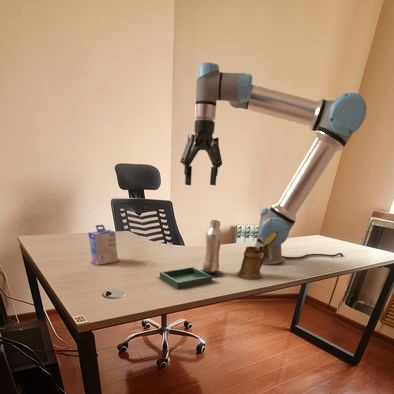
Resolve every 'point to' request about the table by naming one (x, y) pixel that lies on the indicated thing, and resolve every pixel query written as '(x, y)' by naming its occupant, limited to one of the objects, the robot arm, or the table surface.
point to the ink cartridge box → (103, 246)
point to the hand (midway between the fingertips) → (200, 185)
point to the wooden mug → (255, 258)
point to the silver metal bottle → (212, 247)
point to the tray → (185, 277)
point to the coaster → (213, 273)
